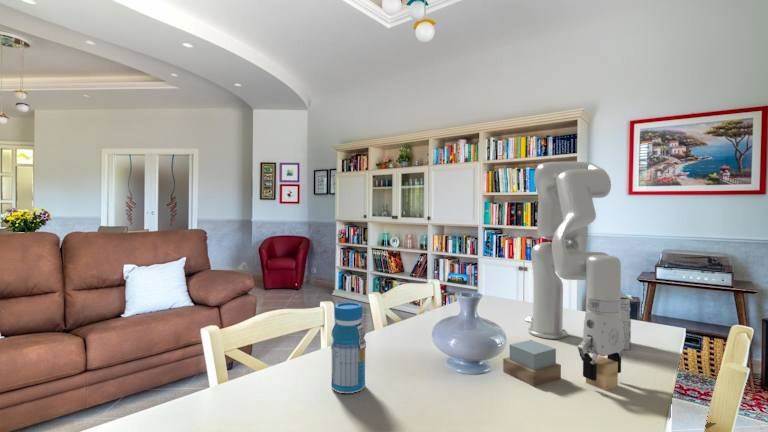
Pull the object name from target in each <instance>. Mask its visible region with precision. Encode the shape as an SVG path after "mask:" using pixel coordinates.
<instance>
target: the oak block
mask: <svg viewBox="0 0 768 432" xmlns="http://www.w3.org/2000/svg"><path fill="white" fill-rule="evenodd" d="M595 364H597V380H595V381H593V380H591V379H588V378H586V377H585V383H586V384H588V385H591V386H593V387H596V388H598V389H600V390H603V391H608V390H612V389H614V388H617V387H618V383H619V382H618V380H619V379H618V377H619V376H618V375H619V373H618V362H616V361H613V360H610V359H608V357H605V356H600V355H598V357H597V359H596V361H595Z"/></svg>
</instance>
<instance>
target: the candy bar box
mask: <svg viewBox="0 0 768 432" xmlns="http://www.w3.org/2000/svg"><path fill="white" fill-rule="evenodd" d="M631 304H632V298H631V297H629V296H627V295H626V294H625V293H624V294H623V293H622V292H621V300H620V311H621V314H622V319H623V329H624V336H625V342H624V349H623V350H622V351H631V342H632V341H631V337H632V336H631V334H632V333H631V328H632V327H631V326H632V325H631V323H632V320H631V319H632V318H631V316H632V313H631V312H632V310H631V308H632V306H631Z"/></svg>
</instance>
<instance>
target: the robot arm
mask: <svg viewBox="0 0 768 432" xmlns="http://www.w3.org/2000/svg"><path fill="white" fill-rule="evenodd" d="M533 178H534V179H533V181H534V186H535V190H536V193H537V198H538V203H537V220H536V221H537V223H536V227H537V229H536V230H537V234H538V236H539V237H540V238H542V239H545V240H552V241H551V242H540V243H537V244H535V245H534V246H532V248H531V249H530V250H531V251H530V260H531V264H532V274H533V275H532V276H533V280H532V281H533V285H532V288H533V293H532V294H533V295H532V296H533V298H532V299H533V300H532V301H533V302H532V303H533V304H532V309H533V310H532V312H533V313H532V315H528V316H527V318H525V320H524V321H525V323H527V324H528V323H529V324H530V326H528V329H527V330H528V333H529V334H531V335H532V336H534V337H538V338H542V339H550V340H557V339H558V340H559V339H564V338H565V339H566V338H567V337H568V331H567V330H565V329H564V328H563V326H564V325H563V323H564V321H563V320H564V319H563V315H564V314H563V313H564V312H563V310H564V284H563V281H562V279H563V280H567V281H568V280H569V281H585V316H584V321H583V322H584V323H583V334H582V341H581V342H580V343H579V344H578V345H577V350H578V352H579V353H578V354H579V357H580V360H581V361H582V376H583V377H584V378H585V379H586V378H588V379H591V380H593V381H595V380H597V364H595V361H596V359H597V357H598V356H601V357H605V356H607V359H610V360H613V361H616V362H618V374H620V373H622V356H623V351H624V350H623V349H624V342H625V336H624V329H623V319H622V314H621V311H620V300H621V293H622V291H621V286H622V284H621V281H622V278H621V277H622V276H621V275H622V273H621V272H622V271H621V270H622V265H621V264H622V263H621V260H620V259H619V258H618V257H617V256H614V255H609V254H608V253H606V252H602V251H587V250H588V248H587V247H588V237H589V225H591V224H592V223H593V222H594V221H595V220H596V217H597V213H596V209H595V205H594V201H593V198H595V199H600V198H601V199H602V198H603V199H604V198H605V197H608V195H609V193H611V189H612V182H611V178H610V175H609V174H608V173H607V171H606V170H605V169H603V168H602V167H600V166H598V165H597V164H594V163H592V162H588V161H549V162H547V161H546V162H543V163H540V164H538V165H537V167H536V168H535V171H534V176H533ZM566 240H567V241H569V242H566ZM590 354H592V355H590Z"/></svg>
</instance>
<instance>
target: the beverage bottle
mask: <svg viewBox="0 0 768 432" xmlns="http://www.w3.org/2000/svg"><path fill="white" fill-rule="evenodd" d="M363 310H364V309H363V305H362V304H361V303H358V302H352V301H351V302H350V301H349V302H339V303H337V304H335V306H334V320H335V321H336V322H335V324H334V325H333V327H332V329H331V337H332V340H331V342H330V349H331V351H330V352H331V388H332V390H333V391H334V390H335V391H338V392H341V393H354V392H357V393H359V392H358V391H360V390H361V391H363V390H364V389H365V386H366V347H367V342H366V339H365V336H366V330H365V326H364V325H363V323H362V322H361V321H362V319H363ZM363 388H364V389H363ZM362 389H363V390H362ZM335 391H334V392H335ZM361 391H360V392H361ZM341 393H340V394H341ZM354 394H355V393H354Z"/></svg>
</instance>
